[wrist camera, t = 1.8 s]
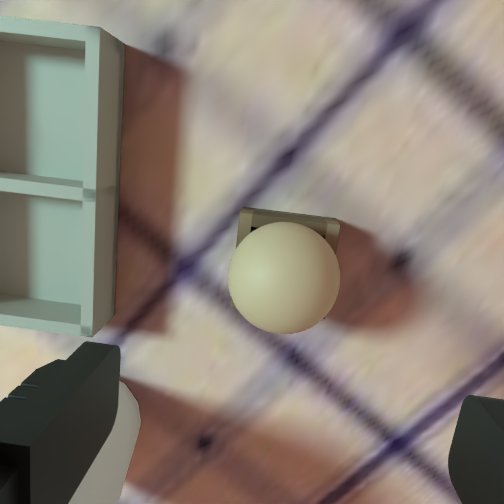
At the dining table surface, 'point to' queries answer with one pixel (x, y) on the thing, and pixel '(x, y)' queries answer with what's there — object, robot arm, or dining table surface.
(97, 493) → the foam cup
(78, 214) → the egg carton
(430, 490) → the dining table surface
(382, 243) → the dining table surface
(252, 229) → the egg stand
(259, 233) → the beige sphere
